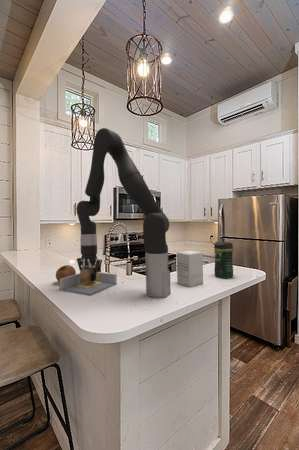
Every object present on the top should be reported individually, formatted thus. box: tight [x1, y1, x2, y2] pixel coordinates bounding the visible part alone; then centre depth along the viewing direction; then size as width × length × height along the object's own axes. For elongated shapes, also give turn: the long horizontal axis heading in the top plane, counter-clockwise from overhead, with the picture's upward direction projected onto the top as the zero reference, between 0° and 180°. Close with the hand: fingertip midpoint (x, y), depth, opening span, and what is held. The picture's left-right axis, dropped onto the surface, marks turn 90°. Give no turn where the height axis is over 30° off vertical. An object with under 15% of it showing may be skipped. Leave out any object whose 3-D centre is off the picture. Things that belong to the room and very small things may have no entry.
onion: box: [55, 264, 77, 283], centre depth 116 cm, size 10×9×10 cm
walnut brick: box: [79, 268, 99, 284], centre depth 109 cm, size 8×4×6 cm, turn 152°
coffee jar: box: [213, 240, 234, 279], centre depth 123 cm, size 10×8×19 cm
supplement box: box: [176, 250, 204, 288], centre depth 111 cm, size 9×9×15 cm
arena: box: [59, 271, 118, 296], centre depth 107 cm, size 18×18×5 cm
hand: (89, 280), depth 109 cm, fingers closed on walnut brick, 4 cm apart
